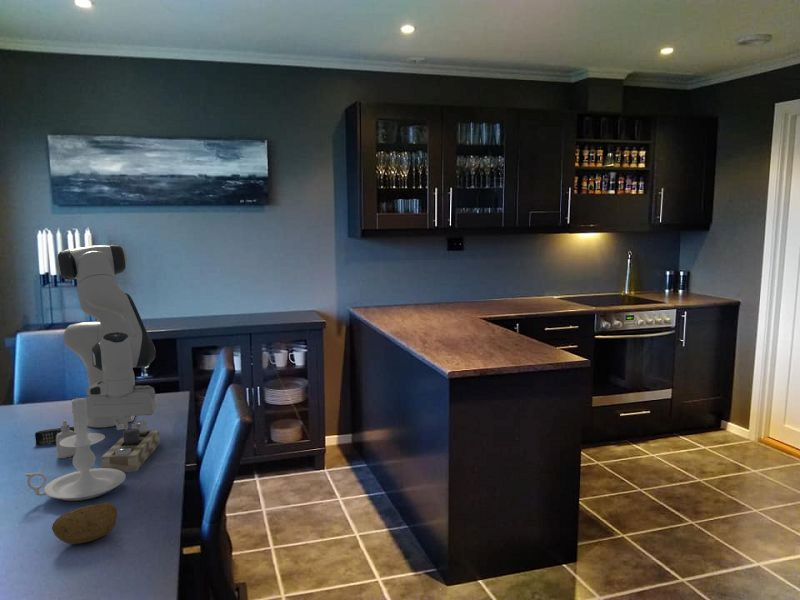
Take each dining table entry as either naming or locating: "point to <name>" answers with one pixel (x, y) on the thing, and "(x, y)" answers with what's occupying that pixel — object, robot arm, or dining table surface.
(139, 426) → the steel knob
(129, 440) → the black knob middle
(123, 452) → the steel knob
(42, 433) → the mobile phone
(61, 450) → the eye dropper bottle
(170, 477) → the dining table surface
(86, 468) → the candlestick
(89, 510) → the potato
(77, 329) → the robot arm
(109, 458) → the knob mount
